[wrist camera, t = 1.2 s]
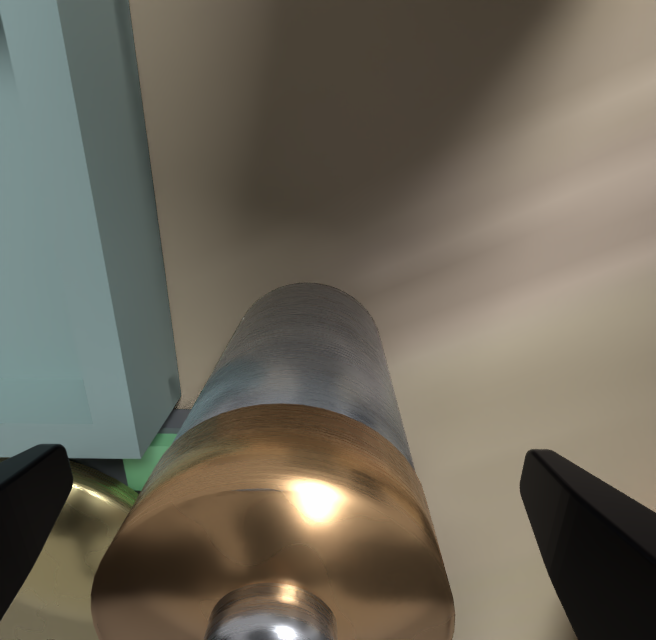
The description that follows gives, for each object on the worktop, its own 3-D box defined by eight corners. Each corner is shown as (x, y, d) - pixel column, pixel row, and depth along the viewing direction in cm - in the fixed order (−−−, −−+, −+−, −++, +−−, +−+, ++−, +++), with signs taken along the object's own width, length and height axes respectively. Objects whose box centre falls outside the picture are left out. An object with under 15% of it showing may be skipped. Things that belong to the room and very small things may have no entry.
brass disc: (200, 652, 15) (192, 678, 14) (-39, 648, 15) (-58, 673, 14) (169, 455, 12) (158, 475, 11) (-129, 451, 12) (-160, 471, 11)
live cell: (379, 417, 14) (446, 795, 6) (238, 416, 14) (101, 789, 6) (387, 282, 12) (498, 534, 4) (227, 280, 12) (12, 528, 4)
